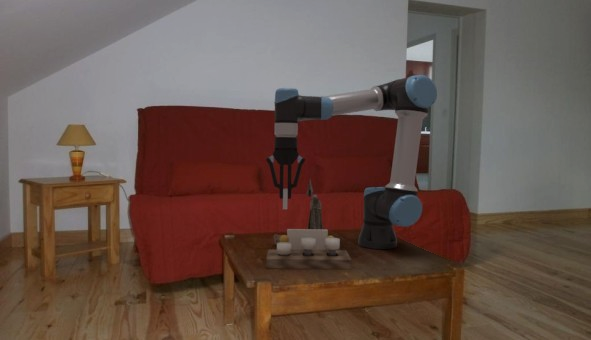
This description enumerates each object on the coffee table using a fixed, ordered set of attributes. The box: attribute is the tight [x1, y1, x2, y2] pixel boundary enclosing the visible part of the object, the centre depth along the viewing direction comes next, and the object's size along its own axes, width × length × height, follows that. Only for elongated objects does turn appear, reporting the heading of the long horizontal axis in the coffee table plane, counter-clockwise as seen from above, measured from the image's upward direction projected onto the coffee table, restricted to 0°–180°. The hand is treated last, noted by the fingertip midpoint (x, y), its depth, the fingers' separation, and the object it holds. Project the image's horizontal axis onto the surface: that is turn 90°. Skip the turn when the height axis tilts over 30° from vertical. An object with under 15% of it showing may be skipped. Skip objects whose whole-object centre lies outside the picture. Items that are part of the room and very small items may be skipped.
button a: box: [325, 237, 341, 256], centre depth 141 cm, size 5×5×6 cm
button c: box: [276, 242, 291, 256], centre depth 141 cm, size 5×5×6 cm
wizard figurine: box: [306, 178, 324, 229], centre depth 178 cm, size 10×8×25 cm
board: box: [265, 248, 352, 270], centre depth 141 cm, size 27×12×3 cm, turn 91°
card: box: [280, 228, 335, 250], centre depth 147 cm, size 19×1×10 cm, turn 91°
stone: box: [273, 234, 283, 246], centre depth 164 cm, size 9×11×5 cm
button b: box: [301, 237, 316, 256], centre depth 141 cm, size 5×5×6 cm
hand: (285, 208), depth 140 cm, fingers closed
